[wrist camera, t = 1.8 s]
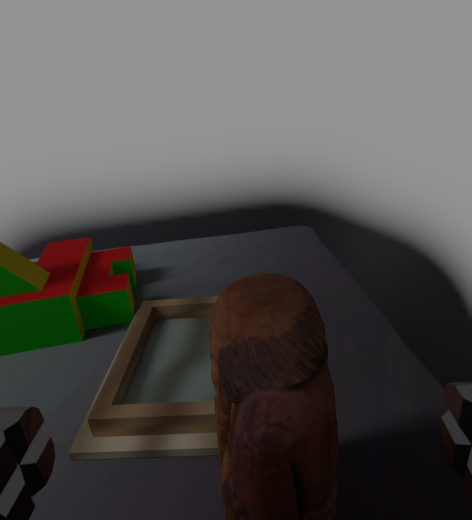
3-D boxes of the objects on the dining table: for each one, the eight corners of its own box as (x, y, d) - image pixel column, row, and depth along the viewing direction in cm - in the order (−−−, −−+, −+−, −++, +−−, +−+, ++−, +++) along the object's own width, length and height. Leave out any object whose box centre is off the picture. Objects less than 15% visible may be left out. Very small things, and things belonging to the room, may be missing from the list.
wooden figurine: (228, 460, 32) (198, 247, 25) (310, 454, 32) (305, 238, 25) (229, 654, 22) (176, 382, 14) (352, 645, 22) (363, 366, 14)
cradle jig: (70, 460, 34) (61, 434, 33) (138, 314, 54) (134, 295, 53) (268, 453, 33) (266, 426, 32) (263, 306, 53) (261, 287, 52)
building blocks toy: (133, 334, 51) (99, 185, 43) (-91, 374, 47) (-172, 221, 40) (137, 269, 67) (113, 154, 60) (-28, 296, 64) (-76, 178, 57)
